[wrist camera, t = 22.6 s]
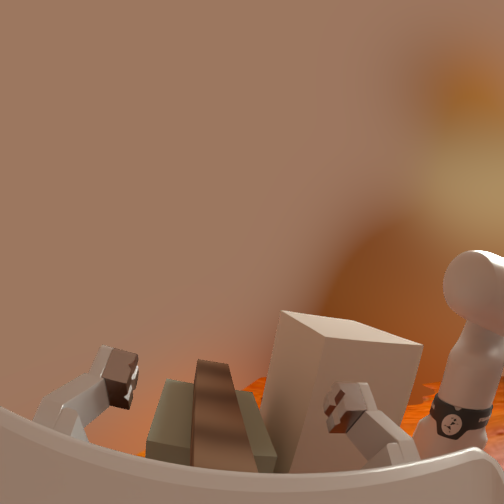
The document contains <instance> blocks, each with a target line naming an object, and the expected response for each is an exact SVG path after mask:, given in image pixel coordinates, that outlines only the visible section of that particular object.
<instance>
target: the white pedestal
mask: <svg viewBox="0 0 504 504" xmlns="http://www.w3.org/2000/svg"><path fill="white" fill-rule="evenodd" d="M422 350H423V345H422V344H419V343H416V342H413V341H410V340H407V339H404V338H401V337H398V336H395V335H393V334H390V333H387V332H384V331H381V330H378V329H375V328H373V327H370V326H367V325H364V324H362V323H359V322H356V321H353V320H345V319H338V318H330V317H323V316H316V315H309V314H302V313H295V312H289V311H283V310H281V311H280V316H279V322H278V327H277V332H276V337H275V342H274V346H273V351H272V356H271V361H270V366H269V370H268V375H267V380H266V384H265V389H264V393H263V398H262V402H261V407H260V414H261V416H262V419H263V421H264V424H265V427H266V429H267V432H268V434H269V437H270V439H271V442H272V444H273V447H274V449H275V452H276V454H277V456H278V457H277V460H276V464H275V467H274V470H273V473H277V474H302V473H328V472H342V471H353V470H360V469H361V468H362V467H363V466H364V465H365V464H366V463H367V462H368V461H367V460H366V458H365V457H364V456H363V455H362V454H361V452H360V451H359V450H358V449H357V448H356V446H355V445H354V444H353V443H352V442H351V440H350V439H349V438H348V437H347V435H346V433H329V432H328V428H327V423H326V421H327V419H328V416H327V415H326V414H325V413H324V409H323V403H324V398H325V396H326V395H327V393H329V392H330V391H332V388H331V387H332V385H333V384H334V383H335V382H361V383H368V385H369V387H370V390H371V393H372V395H373V398H374V401H375V404H376V406H377V409H378V410H381V411H382V412H383V413H384V414H385V415H386V416H387V417H389V418H390V419H391V420H392V421H393V422H394V423H395V424H396V425H398V426H399V427H400V424H401V421H402V418H403V415H404V413H405V410H406V406H407V403H408V400H409V397H410V394H411V391H412V387H413V384H414V380H415V377H416V373H417V369H418V366H419V362H420V358H421V354H422Z"/></svg>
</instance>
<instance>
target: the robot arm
mask: <svg viewBox="0 0 504 504" xmlns="http://www.w3.org/2000/svg"><path fill="white" fill-rule="evenodd" d="M443 292H444V297H445V300H446V302H447V304H448V305H449V307H450V308H451V309H452V310H453V311H454V312H456V313H457V314H458V315H459V316H461V317H463V318H464V319H466V320H467V321H466V324H465V326H464V329H463V331H462V333H461V336H460V338H459V339H458V341H457V343H456V344H455V346H454V347H453V348H452V350H451V352H450V354H449V357H448V361H447V365H446V368H445V372H444V375H443V379H442V382H441V386H440V389H439V392H438V393H437V394H436V395H435V398H434V400H433V402H432V406H431V409H430V414H429V415H428V416H426V417H424V418H423V419H420V421H419V422H418V425H417V427H416V429H415V432H414V434H413V436H412V438H411V437H410V436H409V435H408V434H407V433H406V432H404V431H403V430H402V429H401V428H400V427H399V426H398V425H396V424H395V423H394V422H393V421H392V420H391V419H390V418H389V417H387V416H386V415H385V414H384V413H383V412H382V411H381V410H378V409H377V406H376V404H375V401H374V398H373V395H372V393H371V390H370V387H369V385H368V383H361V382H335V383H334V384H333V385H332V387H331V388H332V391H330V392H329V393H327V395H326V396H325V398H324V403H323V409H324V413H325V414H326V415H327V416H328V419H327V421H326V423H327V428H328V432H329V433H346V435H347V437H348V438H349V439H350V440H351V442H352V443H353V444H354V445H355V446H356V448H357V449H358V450H359V451H360V452H361V454H362V455H363V456H364V457H365V458H366V460H367V461H368V462H367V463H366V464H365V465H364V466H363V467H362V468H361V469H360V470H353V471H342V472H328V473H302V474H277V473H251V472H237V471H225V470H216V469H207V468H199V467H192V466H186V465H180V464H174V463H168V462H163V461H158V460H153V459H148V458H144V457H139V456H135V455H131V454H127V453H123V452H119V451H116V450H112V449H108V448H105V447H102V446H98V445H95V444H92V443H89V441H88V439H87V436H86V434H85V431H84V427H85V426H86V425H88V424H89V423H90V422H91V421H92V420H94V419H95V418H96V417H97V416H99V415H100V414H101V413H102V412H103V411H105V410H106V409H107V408H108V407H109V405H110V406H115V407H118V408H123V409H127V410H129V409H130V406H131V402H132V399H133V393H132V392H133V390H134V389H135V388H136V385H137V380H138V372H139V371H138V366H137V362H138V355H137V354H135V353H131V352H127V351H123V350H120V349H116V348H112V347H109V346H105V345H102V346H101V347H100V348H99V350H98V353H97V355H96V357H95V359H94V362H93V364H92V366H91V368H90V370H89V373H84V374H82V375H80V376H79V377H77V378H75V379H74V380H72V381H70V382H68V383H67V384H65V385H64V386H62V387H60V388H58V389H57V390H55V391H53V392H52V393H50V394H48V395H47V396H45V397H43V399H42V401H41V403H40V405H39V407H38V409H37V412H36V414H35V416H34V418H33V420H32V421H31V420H28V419H26V418H24V417H22V416H20V415H18V414H15V413H13V412H11V411H9V410H7V409H5V408H3V407H1V406H0V504H504V471H503V469H502V467H501V466H500V464H499V463H498V462H497V461H496V460H495V459H494V458H493V457H491V456H490V455H489V454H487V453H486V452H484V451H483V450H484V448H485V446H486V443H487V440H488V439H487V434H486V431H485V426H486V425H487V423H488V420H489V418H490V416H491V414H492V409H493V405H492V403H493V400H494V397H495V394H496V391H497V387H498V384H499V381H500V377H501V374H502V370H503V367H504V258H502V257H500V256H498V255H495V254H492V253H489V252H486V251H466V252H464V253H461V254H459V255H458V256H457V257H456V258H454V259H453V261H452V262H451V263H450V265H449V266H448V268H447V270H446V272H445V276H444V280H443Z"/></svg>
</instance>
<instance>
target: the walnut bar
mask: <svg viewBox="0 0 504 504" xmlns="http://www.w3.org/2000/svg"><path fill="white" fill-rule="evenodd" d="M190 466H192V467H199V468H207V469H216V470H225V471H237V472H251V473H258V469H257V466H256V463H255V459H254V456H253V453H252V449H251V446H250V443H249V439H248V436H247V432H246V429H245V425H244V422H243V418H242V414H241V411H240V407H239V404H238V400H237V396H236V392H235V389H234V385H233V382H232V377H231V374H230V370H229V366H228V364H224V363H218V362H211V361H205V360H199V359H198V361H197V367H196V373H195V380H194V390H193V406H192V424H191V444H190Z"/></svg>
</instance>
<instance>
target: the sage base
mask: <svg viewBox="0 0 504 504" xmlns="http://www.w3.org/2000/svg"><path fill="white" fill-rule="evenodd" d="M193 390H194V384H192V383H186V382H181V381H176V380H171V379H167V380H166V382H165V385H164V389H163V391H162V394H161V398H160V401H159V403H158V406H157V410H156V412H155V415H154V419H153V422H152V425H151V428H150V431H149V434H148V437H147V441H146V456H145V458H148V459H153V460H158V461H163V462H168V463H174V464H180V465H186V466H190V444H191V424H192V406H193ZM235 392H236V396H237V400H238V404H239V407H240V411H241V414H242V418H243V422H244V425H245V429H246V432H247V436H248V439H249V443H250V446H251V449H252V453H253V456H254V459H255V463H256V466H257V469H258V473H273V470H274V467H275V464H276V460H277V457H278V456H277V454H276V452H275V449H274V447H273V444H272V442H271V439H270V437H269V434H268V432H267V429H266V427H265V424H264V421H263V419H262V416H261V414H260V411H259V409H258V406H257V403H256V401H255V398H254V396H253V393H252V392H246V391H238V390H235Z"/></svg>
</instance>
